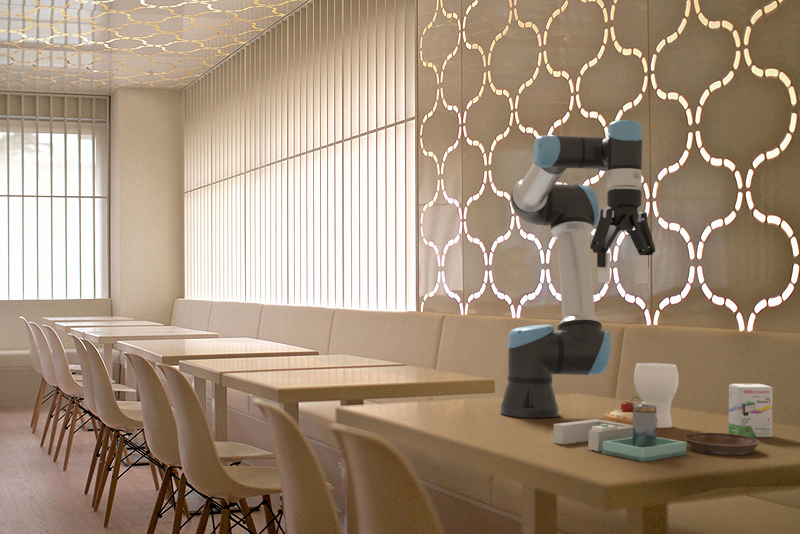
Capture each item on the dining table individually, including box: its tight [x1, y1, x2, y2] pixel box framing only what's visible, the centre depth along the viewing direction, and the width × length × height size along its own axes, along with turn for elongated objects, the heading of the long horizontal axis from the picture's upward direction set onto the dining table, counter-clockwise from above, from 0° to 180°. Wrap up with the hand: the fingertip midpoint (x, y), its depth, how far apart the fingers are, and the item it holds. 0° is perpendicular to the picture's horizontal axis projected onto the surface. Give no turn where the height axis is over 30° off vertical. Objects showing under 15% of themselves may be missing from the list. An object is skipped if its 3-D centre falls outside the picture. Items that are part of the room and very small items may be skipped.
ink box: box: [728, 383, 774, 438], centre depth 207 cm, size 8×5×12 cm, turn 101°
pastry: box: [603, 396, 658, 429], centre depth 205 cm, size 12×12×9 cm
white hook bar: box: [552, 418, 633, 452], centre depth 192 cm, size 12×14×5 cm
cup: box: [633, 362, 680, 429], centre depth 220 cm, size 11×11×15 cm
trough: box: [601, 436, 687, 463], centre depth 181 cm, size 10×14×2 cm
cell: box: [632, 401, 657, 448], centre depth 181 cm, size 5×5×10 cm
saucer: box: [684, 432, 760, 456], centre depth 188 cm, size 15×15×3 cm
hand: (623, 283), depth 203 cm, fingers open, 13 cm apart
